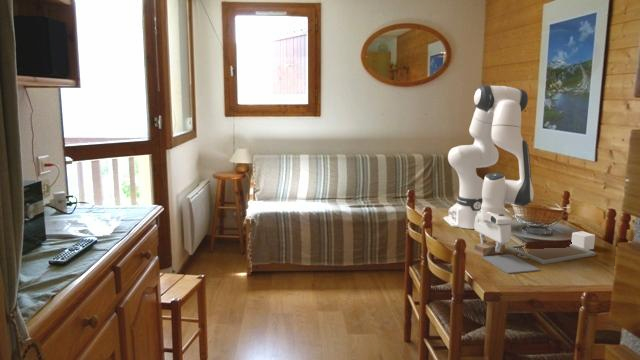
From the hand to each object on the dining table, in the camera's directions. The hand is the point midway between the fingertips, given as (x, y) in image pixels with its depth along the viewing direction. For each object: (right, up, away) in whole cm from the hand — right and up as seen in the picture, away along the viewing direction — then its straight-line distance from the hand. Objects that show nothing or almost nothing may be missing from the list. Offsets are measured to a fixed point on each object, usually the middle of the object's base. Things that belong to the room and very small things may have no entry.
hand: (490, 247), depth 194 cm
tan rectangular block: (0, -2, +1) cm, 2 cm away
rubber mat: (+3, -4, -13) cm, 14 cm away
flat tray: (+23, -3, +1) cm, 24 cm away
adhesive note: (+40, -1, +7) cm, 41 cm away
